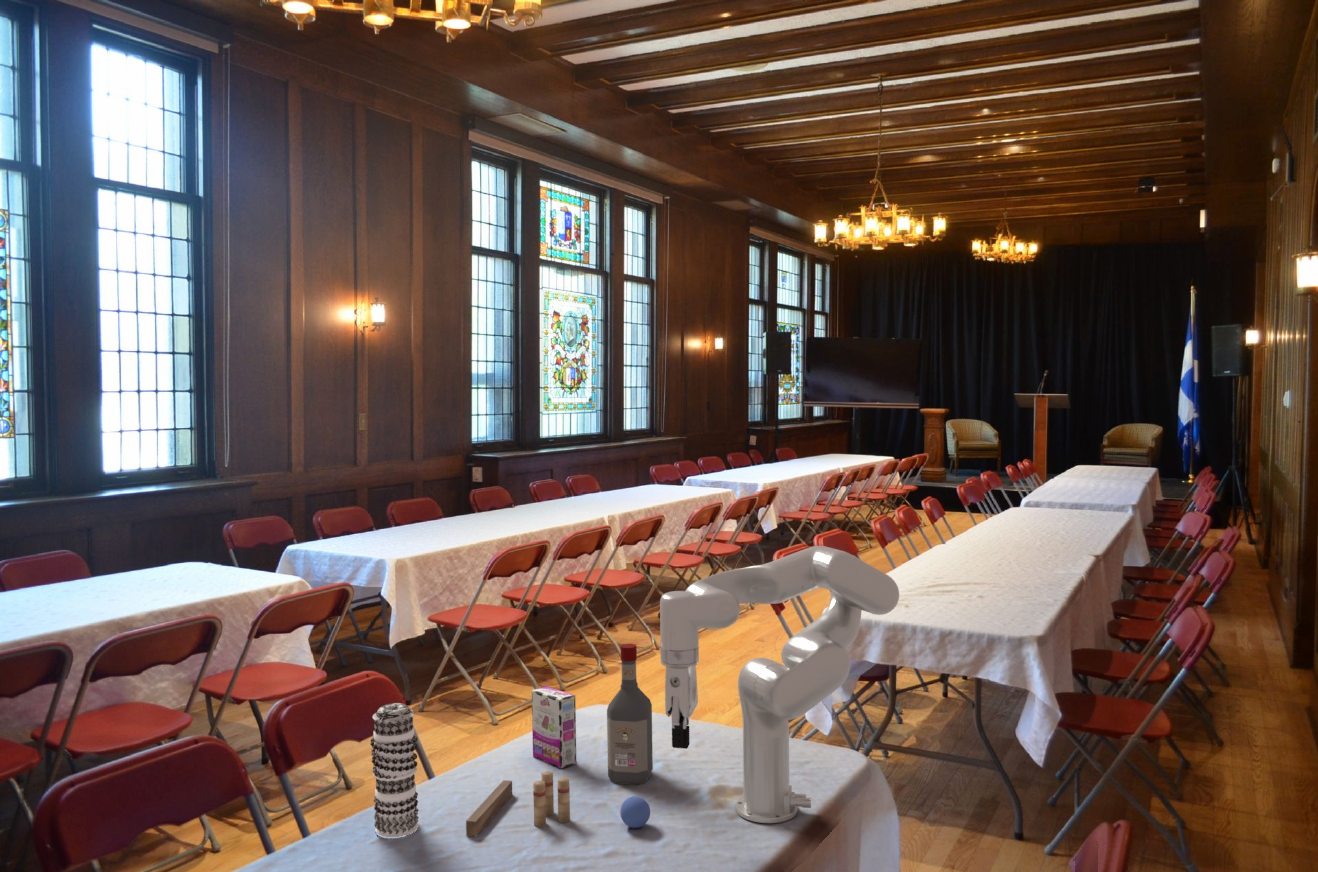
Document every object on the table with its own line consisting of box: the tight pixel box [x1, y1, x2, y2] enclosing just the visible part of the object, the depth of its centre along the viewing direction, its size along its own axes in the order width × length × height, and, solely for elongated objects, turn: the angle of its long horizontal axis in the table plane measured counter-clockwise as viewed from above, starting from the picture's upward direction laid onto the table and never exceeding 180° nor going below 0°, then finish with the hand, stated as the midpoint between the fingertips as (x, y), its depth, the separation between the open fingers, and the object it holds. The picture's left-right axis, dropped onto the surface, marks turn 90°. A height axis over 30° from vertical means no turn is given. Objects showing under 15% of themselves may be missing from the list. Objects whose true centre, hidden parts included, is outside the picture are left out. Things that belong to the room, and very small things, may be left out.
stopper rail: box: [465, 779, 513, 837], centre depth 203 cm, size 2×20×3 cm, turn 168°
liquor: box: [606, 643, 654, 786], centre depth 220 cm, size 9×9×30 cm
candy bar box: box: [531, 685, 577, 769], centre depth 231 cm, size 11×5×16 cm, turn 45°
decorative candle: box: [370, 702, 420, 837], centre depth 196 cm, size 9×9×25 cm
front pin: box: [556, 776, 571, 824], centre depth 199 cm, size 2×2×8 cm
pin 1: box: [532, 780, 547, 828], centre depth 198 cm, size 2×2×8 cm
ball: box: [619, 795, 651, 829], centre depth 196 cm, size 6×6×6 cm
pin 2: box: [540, 770, 555, 817], centre depth 202 cm, size 2×2×8 cm
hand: (680, 746), depth 193 cm, fingers closed
